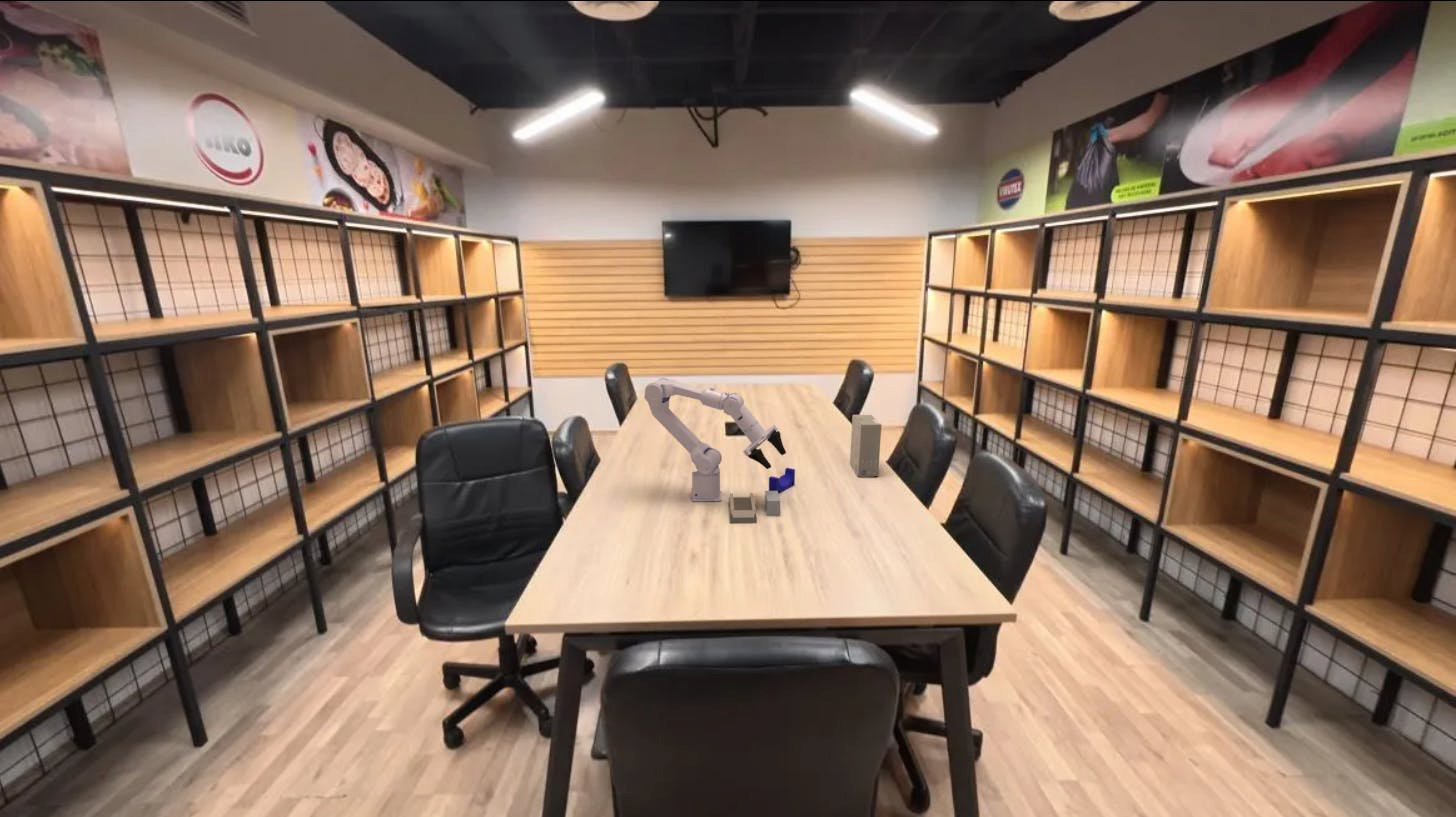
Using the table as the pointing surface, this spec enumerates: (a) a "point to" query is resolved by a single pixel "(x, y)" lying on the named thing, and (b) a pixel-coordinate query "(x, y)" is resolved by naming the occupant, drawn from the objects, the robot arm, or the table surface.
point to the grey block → (772, 503)
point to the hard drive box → (865, 445)
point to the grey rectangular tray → (742, 509)
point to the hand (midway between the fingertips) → (776, 460)
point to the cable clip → (782, 481)
